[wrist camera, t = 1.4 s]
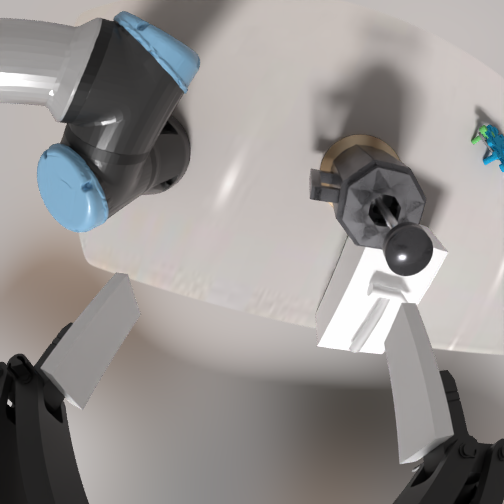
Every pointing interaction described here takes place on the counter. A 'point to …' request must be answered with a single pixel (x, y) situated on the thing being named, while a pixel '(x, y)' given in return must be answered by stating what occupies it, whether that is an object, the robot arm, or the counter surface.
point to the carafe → (367, 192)
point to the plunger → (401, 239)
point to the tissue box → (369, 297)
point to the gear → (492, 144)
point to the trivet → (350, 142)
